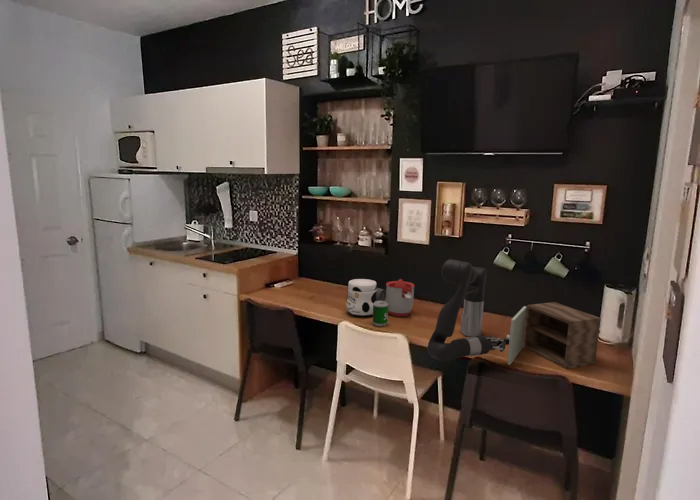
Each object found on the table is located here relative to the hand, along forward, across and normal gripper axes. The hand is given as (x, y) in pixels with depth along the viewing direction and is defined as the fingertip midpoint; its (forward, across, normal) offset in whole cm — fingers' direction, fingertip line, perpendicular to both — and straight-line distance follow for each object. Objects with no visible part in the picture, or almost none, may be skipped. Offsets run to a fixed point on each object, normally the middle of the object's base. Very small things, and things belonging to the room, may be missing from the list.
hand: (509, 340), depth 183 cm
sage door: (+6, +4, +8) cm, 11 cm away
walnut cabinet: (+26, -2, +9) cm, 27 cm away
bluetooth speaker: (-23, +98, +9) cm, 101 cm away
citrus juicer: (-14, +70, +9) cm, 72 cm away
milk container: (-34, +77, +9) cm, 85 cm away
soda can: (-32, +58, +9) cm, 67 cm away
